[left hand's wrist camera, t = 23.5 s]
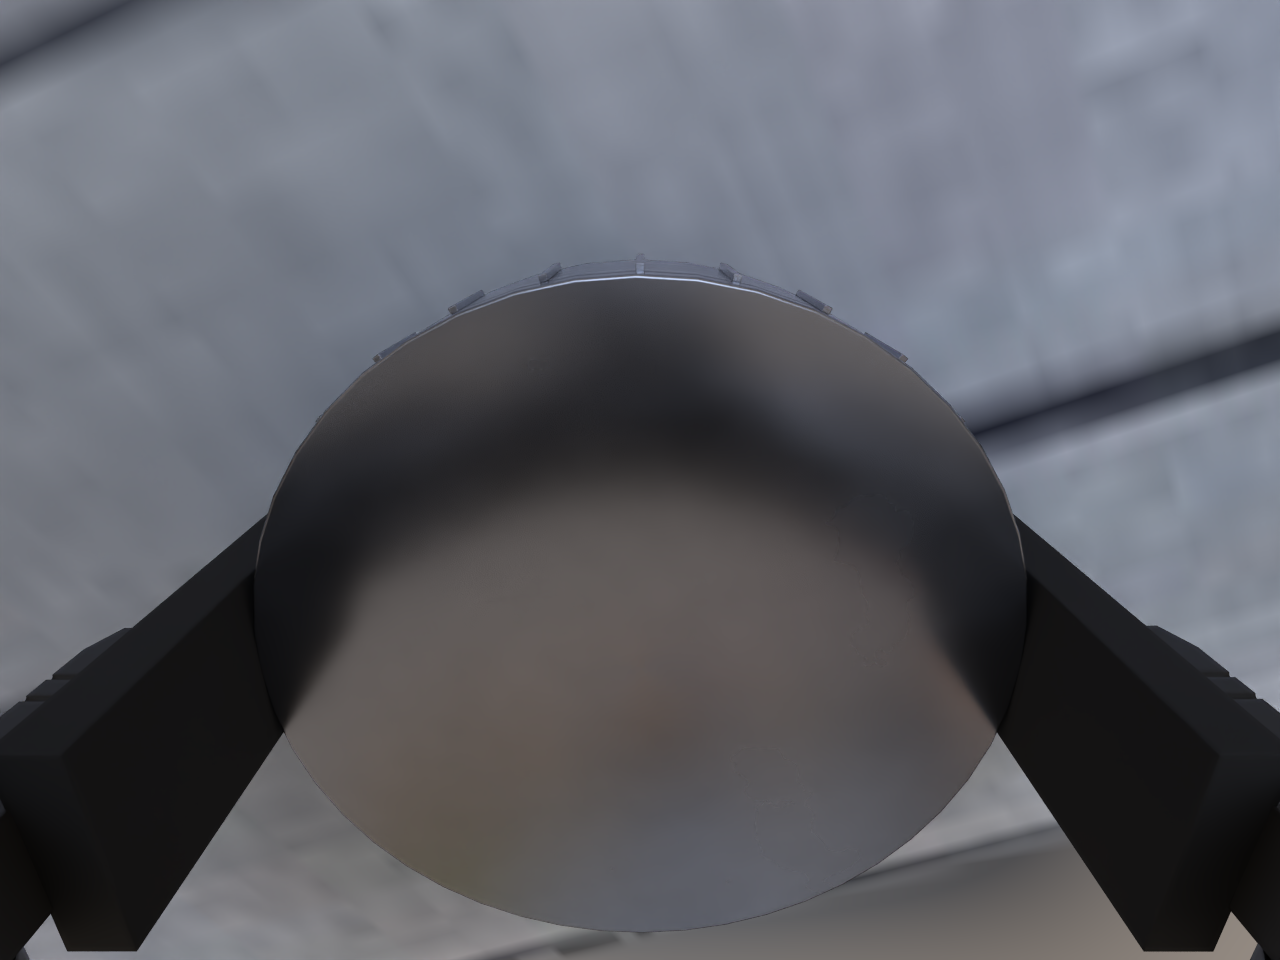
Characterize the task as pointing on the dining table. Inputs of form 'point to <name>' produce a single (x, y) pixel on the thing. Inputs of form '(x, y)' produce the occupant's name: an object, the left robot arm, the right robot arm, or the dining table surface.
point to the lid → (640, 599)
